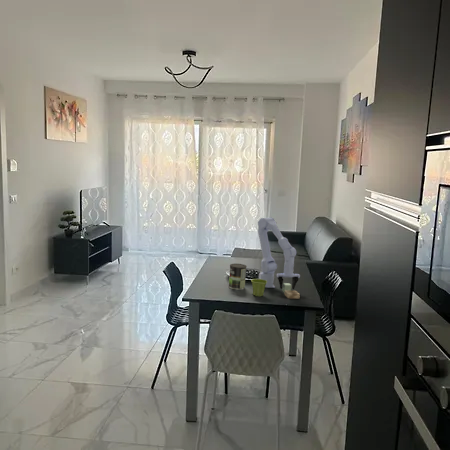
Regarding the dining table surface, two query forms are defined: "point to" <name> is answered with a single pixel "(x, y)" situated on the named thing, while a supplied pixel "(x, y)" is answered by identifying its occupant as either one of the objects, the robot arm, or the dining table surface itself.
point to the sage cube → (286, 287)
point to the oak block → (292, 294)
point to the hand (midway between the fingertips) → (287, 288)
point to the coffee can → (237, 276)
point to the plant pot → (258, 286)
